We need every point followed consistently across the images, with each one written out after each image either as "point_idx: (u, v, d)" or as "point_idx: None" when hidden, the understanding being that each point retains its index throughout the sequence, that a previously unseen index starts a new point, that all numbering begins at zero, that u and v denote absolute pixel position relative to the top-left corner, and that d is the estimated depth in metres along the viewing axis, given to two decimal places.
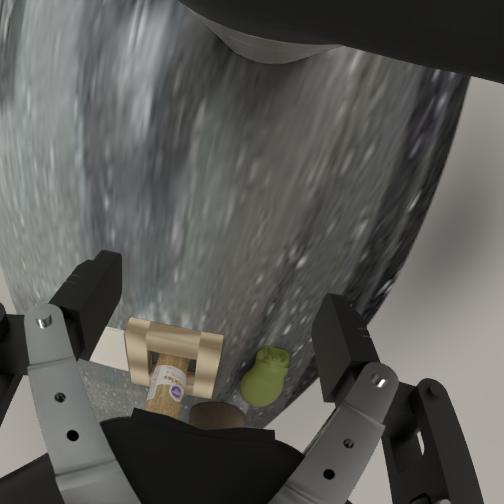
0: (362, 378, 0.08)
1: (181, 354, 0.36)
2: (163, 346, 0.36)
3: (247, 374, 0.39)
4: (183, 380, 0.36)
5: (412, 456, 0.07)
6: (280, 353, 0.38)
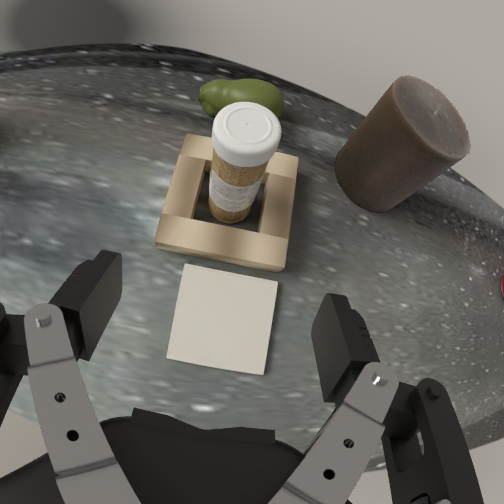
0: (362, 378, 0.08)
1: (195, 175, 0.29)
2: (181, 195, 0.29)
3: None
4: None
5: (412, 456, 0.07)
6: None
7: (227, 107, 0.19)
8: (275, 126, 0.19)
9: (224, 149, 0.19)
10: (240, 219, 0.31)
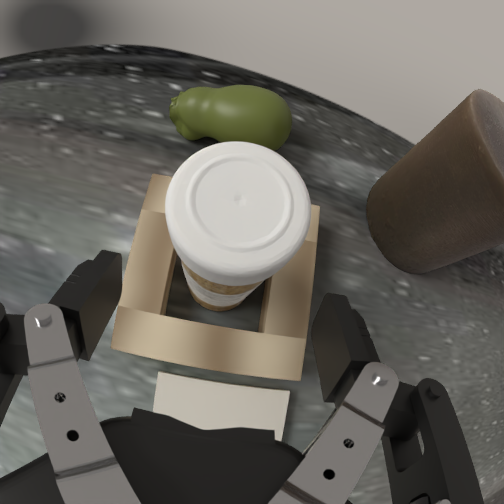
0: (362, 378, 0.08)
1: (165, 243, 0.19)
2: (145, 276, 0.19)
3: (218, 138, 0.22)
4: None
5: (412, 456, 0.07)
6: None
7: (195, 157, 0.09)
8: (299, 201, 0.09)
9: (190, 260, 0.09)
10: (235, 305, 0.21)
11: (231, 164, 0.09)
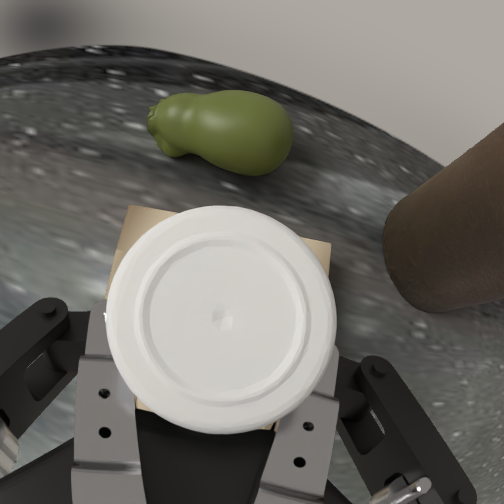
0: None
1: None
2: None
3: (203, 156, 0.19)
4: None
5: (371, 434, 0.08)
6: None
7: (149, 240, 0.06)
8: (319, 314, 0.06)
9: (150, 406, 0.05)
10: None
11: (208, 253, 0.06)
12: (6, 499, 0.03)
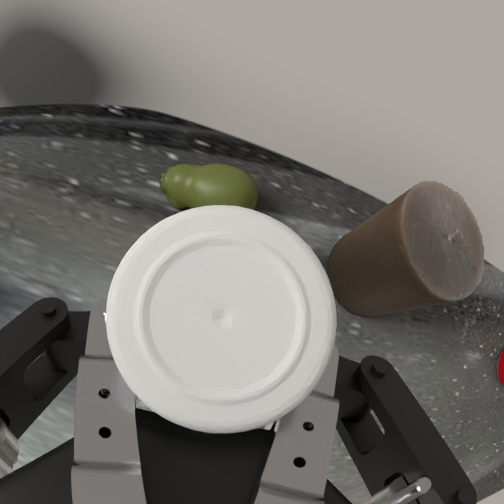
0: None
1: None
2: None
3: None
4: None
5: (371, 434, 0.08)
6: None
7: (149, 239, 0.06)
8: (319, 314, 0.06)
9: (150, 405, 0.05)
10: None
11: (208, 252, 0.06)
12: (6, 499, 0.03)
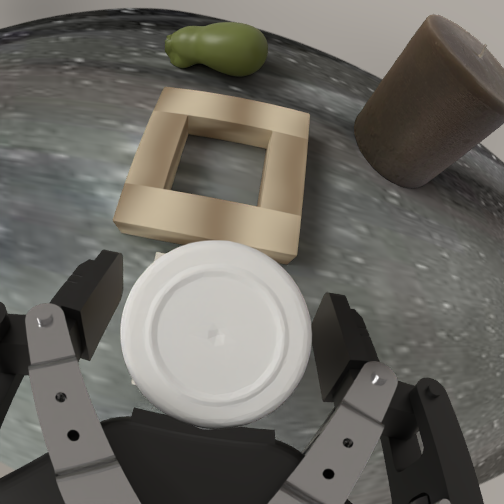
0: (361, 377, 0.08)
1: (173, 134, 0.21)
2: (152, 158, 0.20)
3: (204, 60, 0.24)
4: None
5: (411, 456, 0.07)
6: None
7: (155, 271, 0.07)
8: (296, 333, 0.07)
9: (157, 406, 0.06)
10: None
11: (204, 282, 0.07)
12: None
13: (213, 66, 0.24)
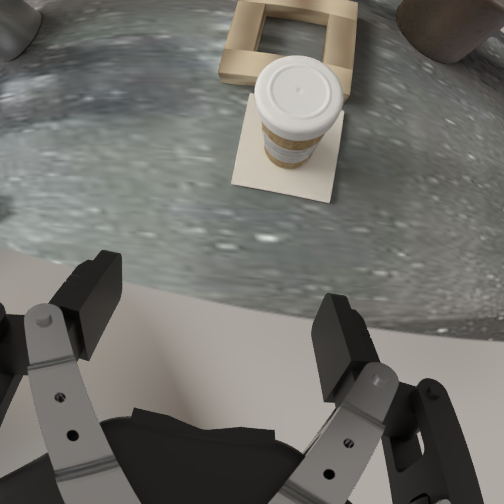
0: (362, 378, 0.08)
1: (256, 16, 0.24)
2: (243, 32, 0.24)
3: None
4: None
5: (412, 456, 0.07)
6: None
7: (271, 66, 0.14)
8: (335, 92, 0.14)
9: (271, 124, 0.14)
10: (301, 165, 0.26)
11: (293, 70, 0.14)
12: None
13: None
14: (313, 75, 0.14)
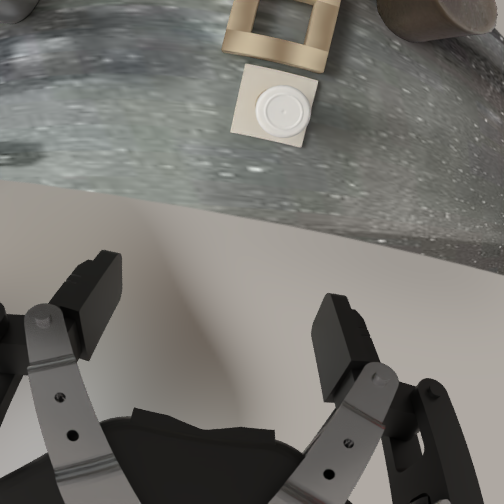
0: (362, 378, 0.08)
1: None
2: (242, 15, 0.28)
3: None
4: None
5: (412, 456, 0.07)
6: None
7: (267, 93, 0.22)
8: (306, 113, 0.23)
9: None
10: None
11: (281, 97, 0.23)
12: None
13: None
14: (293, 101, 0.23)
